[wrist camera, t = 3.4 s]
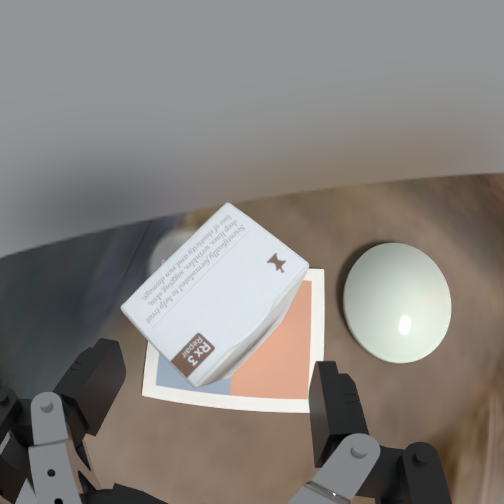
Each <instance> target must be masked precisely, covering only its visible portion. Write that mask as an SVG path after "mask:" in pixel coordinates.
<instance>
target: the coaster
mask: <svg viewBox="0 0 504 504" xmlns="http://www.w3.org/2000/svg"><path fill="white" fill-rule="evenodd" d="M342 302H343V312H344V316H345V320H346V323H347V326H348V328H349V330H350V332H351V334H352V336H353V337H354V339H355V340H356V342H357V343H358V344H359V345H360V346H361V347H362V348H363V349H364V350H365V351H366V352H367V353H369V354H370V355H372V356H373V357H375V358H377V359H379V360H382V361H385V362H389V363H408V362H413V361H416V360H419V359H421V358H423V357H425V356H427V355H428V354H430V353H431V352H432V351H433V350H434V349H435V348H436V347H437V346H438V345H439V344H440V342H441V341H442V339H443V338H444V336H445V334H446V331H447V329H448V326H449V322H450V317H451V298H450V292H449V289H448V285H447V283H446V280H445V278H444V276H443V274H442V272H441V271H440V269H439V268H438V266H437V265H436V264H435V263H434V262H433V261H432V260H431V259H430V258H429V257H428V256H427V255H426V254H424V253H423V252H422V251H420V250H418V249H416V248H414V247H412V246H409V245H406V244H401V243H385V244H381V245H378V246H375V247H373V248H371V249H370V250H368V251H366V252H365V253H364V254H363V255H362V256H361V257H360V258H359V259H358V260H357V261H356V263H355V264H354V265H353V267H352V268H351V270H350V271H349V274H348V276H347V278H346V281H345V284H344V289H343V300H342Z"/></svg>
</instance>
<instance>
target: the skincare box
mask: <svg viewBox="0 0 504 504" xmlns="http://www.w3.org/2000/svg"><path fill="white" fill-rule="evenodd" d="M308 268H309V263H308V262H306V261H305V260H304V259H303V258H301V257H300V256H299V255H297V254H296V253H295V252H294V251H292V250H291V249H290V248H289V247H287V246H286V245H285V244H283V243H282V242H281V241H280V240H278V239H277V238H276V237H274V236H273V235H272V234H271V233H269V232H268V231H267V230H265V229H264V228H263V227H261V226H260V225H259V224H257V223H256V222H255V221H253V220H252V219H251V218H250V217H248V216H247V215H246V214H244V213H243V212H241V211H240V210H239V209H237V208H236V207H234V206H233V205H232V204H230V203H225V204H224V205H223V206H222V207H221V208H220V209H219V210H218V211H217V212H216V213H214V214H213V215H212V216H211V217H210V218H209V219H208V220H207V221H206V222H205V223H204V224H203V225H202V226H201V227H200V228H199V229H198V230H197V231H196V232H195V233H194V234H193V235H192V236H190V237H189V238H188V239H187V240H186V241H185V242H184V243H183V244H182V245H181V246H180V247H179V248H178V249H177V250H176V251H175V252H174V253H173V254H172V255H171V256H170V257H169V258H168V259H167V260H166V261H165V262H164V263H163V264H162V265H161V266H160V267H159V268H158V269H157V270H156V271H155V272H154V273H153V274H152V275H151V276H150V277H149V278H148V279H147V280H146V281H145V282H144V283H143V284H142V285H141V286H140V287H139V288H138V289H137V290H136V291H135V292H134V293H133V295H132V296H131V297H130V298H129V299H128V300H127V301H126V302H125V303H124V304H122V306H121V310H122V311H123V313H124V314H125V315H126V316H127V317H128V319H129V320H130V321H131V322H132V323H133V324H134V326H135V327H136V328H137V329H138V330H139V331H140V332H141V333H142V335H143V336H144V337H145V338H146V339H147V340H148V341H149V342H150V343H151V344H152V346H153V347H154V348H155V349H156V350H157V351H158V352H159V353H160V354H161V355H162V356H163V357H164V358H165V359H166V361H167V362H168V363H169V364H170V365H171V366H172V367H173V368H174V369H175V370H176V371H177V372H178V373H179V374H180V375H181V376H182V377H183V378H184V379H185V380H186V381H187V382H188V383H189V384H190V385H191V386H192V387H194V388H198V387H201V386H205V385H208V384H211V383H215V382H218V381H221V380H224V379H228V378H229V377H230V376H231V375H232V374H233V373H234V372H235V371H236V370H237V369H238V368H239V367H240V366H241V365H242V364H243V363H244V362H245V361H246V360H247V359H248V358H249V357H250V356H251V355H252V354H253V353H254V352H255V351H256V350H257V349H258V348H259V347H260V346H261V344H262V343H263V342H264V341H265V340H266V339H267V338H268V337H269V336H270V335H271V333H272V332H273V331H274V330H275V329H276V328H277V327H278V326H279V324H280V323H281V322H282V321H283V319H284V317H285V315H286V313H287V311H288V309H289V307H290V305H291V303H292V301H293V299H294V297H295V295H296V293H297V291H298V289H299V287H300V285H301V283H302V281H303V279H304V277H305V275H306V273H307V271H308Z"/></svg>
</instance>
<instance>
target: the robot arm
mask: <svg viewBox="0 0 504 504" xmlns="http://www.w3.org/2000/svg"><path fill="white" fill-rule="evenodd" d="M74 362H75V363H73V364H72V365H71V367H70V369H68V371H67V372H66V373H65V375H64V376H63V378H62V379H61V380H60V382H59V383H58V384H57V386H56V387H55V389H54V390H53V391H52V392H43V393H41V394H39V395H37V396H36V397H35V398H34V399H33V400H29V399H19V398H18V397H17V395H16V393H15V392H14V391H13V390H12V389H10V388H1V389H0V445H1V443H2V441H3V440H4V438H5V436H6V434H7V433H8V431H9V432H10V433H11V434H12V436H11V437H10V439H9V441H8V443H7V445H6V446H5V448H4V450H3V452H2V453H1V455H0V504H15V502H16V500H17V498H18V495H19V493H20V490H21V488H22V486H23V484H24V482H25V479H26V477H27V475H28V473H29V471H30V469H31V472H32V477H33V483H34V488H35V492H36V497H37V501H38V504H168V503H166V502H164V501H161V500H159V499H157V498H155V497H153V496H151V495H149V494H147V493H145V492H143V491H140V490H137V489H133V488H130V487H126V486H123V485H120V484H117V483H115V484H114V486H113V489H103V488H102V486H101V485H100V483H99V481H98V479H97V477H96V475H95V472H94V469H93V466H92V463H91V460H90V457H89V454H88V450H87V447H86V443H85V440H84V439H83V438H84V436H85V434H86V433H87V434H90V435H93V436H96V435H97V433H98V431H99V429H100V427H101V425H102V423H103V421H104V419H105V417H106V415H107V413H108V411H109V409H110V407H111V405H112V403H113V401H114V399H115V398H116V396H117V394H118V392H119V390H120V388H121V386H122V384H123V382H124V380H125V377H126V368H125V364H124V360H123V356H122V353H121V349H120V345H119V343H118V342H117V341H114V340H109V339H104V338H101V339H99V340H98V341H97V343H96V344H95V345H94V347H93V348H90V347H89V348H88V349H86V350H85V351H83V352H82V353H80V355H79V356H78V357H77V359H76V360H75V361H74ZM357 393H358V392H357V389H356V385H355V382H354V381H353V380H352V379H351V377H350V376H349V375H348V374H338V370H337V366H336V362H335V361H316V362H315V365H314V369H313V374H312V378H311V382H310V387H309V394H308V402H309V411H310V421H311V431H312V441H313V451H314V463H315V468H321V469H320V470H319V472H318V473H317V474H316V475H315V476H314V478H313V479H312V480H311V481H310V482H307V483H306V484H305V485H304V486H303V487H302V488H301V489H300V490H299V491H298V492H297V494H296V495H295V496H294V497H293V498H292V499H291V500H290V501H289V502H288V503H287V504H350V502H351V500H352V499H353V497H354V496H355V495H356V496H362V497H370V498H375V503H376V504H452V502H451V498H450V494H449V490H448V486H447V483H446V479H445V475H444V472H443V468H442V465H441V462H440V458H439V455H438V453H437V451H436V449H435V448H434V447H433V446H432V445H430V444H428V443H424V442H416V443H413V444H411V445H409V446H408V447H407V448H406V449H405V450H403V449H395V448H388V447H384V446H381V445H379V444H378V442H377V441H376V440H375V439H374V438H373V437H371V436H370V435H369V432H368V429H367V425H366V421H365V417H364V414H363V410H362V406H361V403H360V399H359V396H358V394H357Z"/></svg>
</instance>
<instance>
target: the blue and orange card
mask: <svg viewBox="0 0 504 504" xmlns="http://www.w3.org/2000/svg"><path fill="white" fill-rule="evenodd" d="M166 260H167V259H162V260H161V265H162V264H163V263H164V262H165V261H166ZM161 265H160V266H161ZM323 353H324V269H309V268H308V271H307V273H306V275H305V277H304V279H303V281H302V283H301V285H300V287H299V289H298V291H297V293H296V295H295V297H294V299H293V301H292V303H291V305H290V307H289V309H288V311H287V313H286V315H285V317H284V319H283V321H282V322H281V323H280V324H279V326H278V327H277V328H276V329H275V330H274V331H273V332H272V333H271V335H270V336H269V337H268V338H267V339H266V340H265V341H264V342H263V343H262V344H261V346H260V347H259V348H258V349H257V350H256V351H255V352H254V353H253V354H252V355H251V356H250V357H249V358H248V359H247V360H246V361H245V362H244V363H243V364H242V365H241V366H240V367H239V368H238V369H237V370H236V371H235V372H234V373H233V374H232V375H231V376H230V377H229V378H228V379H224V380H221V381H218V382H215V383H211V384H208V385H205V386H201V387H198V388H194V387H192V386H191V385H190V384H189V383H188V382H187V381H186V380H185V379H184V378H183V377H182V376H181V375H180V374H179V373H178V372H177V371H176V370H175V369H174V368H173V367H172V366H171V365H170V364H169V363H168V362H167V361H166V359H165V358H164V357H163V356H162V355H161V354H160V353H159V352H158V351H157V350H156V349H155V348H154V347H153V346H152V344H151V343H150V342H149V341H148V346H147V354H146V362H145V370H144V380H143V390H142V396H147V397H152V398H157V399H162V400H168V401H174V402H180V403H186V404H193V405H201V406H208V407H217V408H226V409H237V410H250V411H266V412H302V413H310V411H309V402H308V394H309V387H310V382H311V378H312V374H313V369H314V365H315V362H316V361H323Z"/></svg>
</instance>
